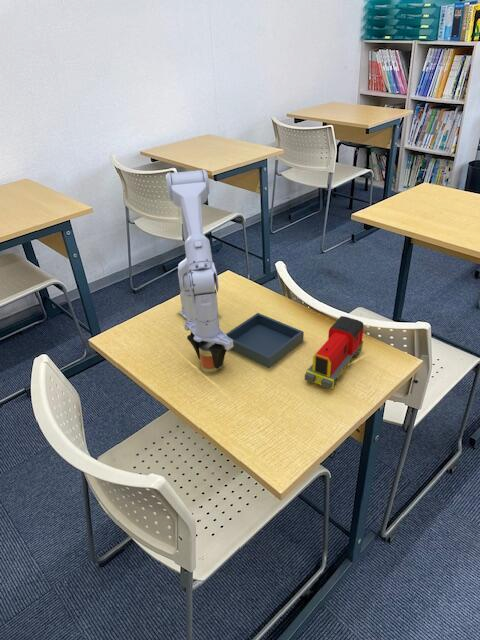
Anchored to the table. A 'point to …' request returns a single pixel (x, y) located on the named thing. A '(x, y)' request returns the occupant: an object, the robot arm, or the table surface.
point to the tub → (264, 339)
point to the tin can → (206, 357)
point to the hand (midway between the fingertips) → (210, 361)
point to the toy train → (336, 352)
